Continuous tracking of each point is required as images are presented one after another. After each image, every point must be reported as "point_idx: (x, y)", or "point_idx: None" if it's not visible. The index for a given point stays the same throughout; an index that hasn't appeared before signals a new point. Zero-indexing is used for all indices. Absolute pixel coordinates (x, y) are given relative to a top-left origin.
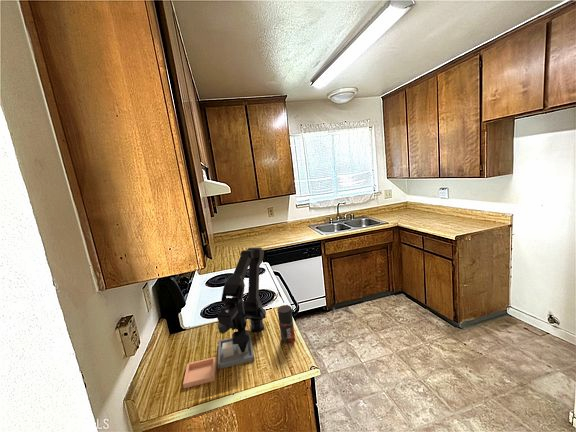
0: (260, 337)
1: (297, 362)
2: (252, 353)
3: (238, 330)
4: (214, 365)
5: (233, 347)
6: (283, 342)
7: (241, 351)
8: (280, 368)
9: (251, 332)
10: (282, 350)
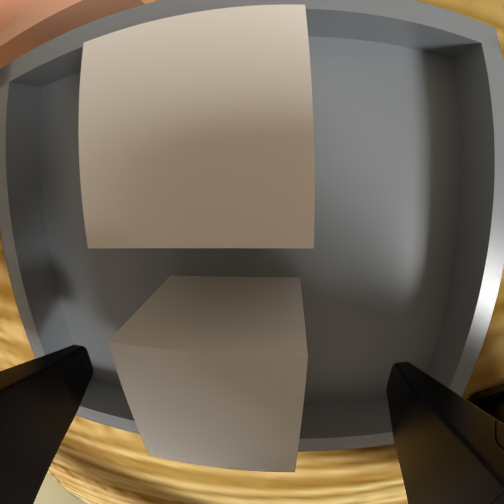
0: (381, 452)
1: (93, 492)
2: (86, 414)
3: (471, 467)
4: (10, 38)
5: (346, 210)
6: None
7: (58, 351)
8: None
9: (482, 399)
10: (175, 501)
